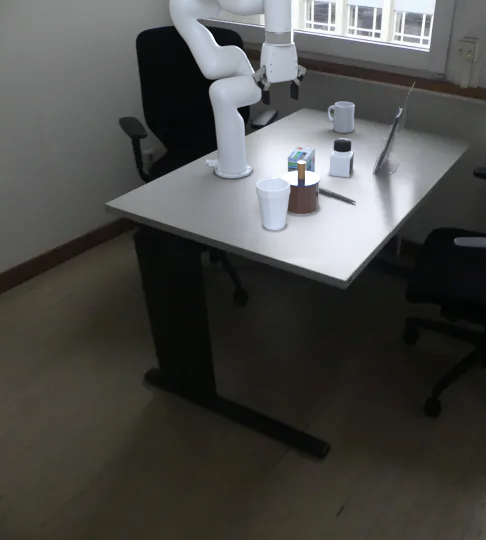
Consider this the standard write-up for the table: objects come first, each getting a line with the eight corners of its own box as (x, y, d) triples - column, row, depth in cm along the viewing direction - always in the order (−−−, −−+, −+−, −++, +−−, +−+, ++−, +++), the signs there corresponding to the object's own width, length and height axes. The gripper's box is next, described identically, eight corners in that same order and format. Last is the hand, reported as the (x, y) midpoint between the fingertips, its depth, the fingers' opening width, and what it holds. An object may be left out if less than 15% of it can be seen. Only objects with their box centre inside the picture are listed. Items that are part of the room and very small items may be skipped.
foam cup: (291, 218, 158) (290, 177, 151) (290, 233, 150) (289, 191, 143) (259, 218, 157) (257, 177, 150) (256, 233, 150) (254, 191, 143)
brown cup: (283, 215, 159) (283, 186, 154) (284, 200, 168) (284, 172, 163) (318, 215, 160) (318, 186, 155) (317, 200, 168) (318, 172, 163)
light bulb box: (307, 190, 175) (307, 159, 169) (287, 188, 176) (287, 157, 170) (315, 178, 184) (315, 148, 178) (296, 175, 185) (296, 145, 179)
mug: (356, 128, 229) (357, 103, 223) (348, 134, 223) (349, 108, 217) (331, 124, 234) (332, 99, 228) (322, 129, 227) (323, 103, 221)
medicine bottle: (349, 177, 184) (351, 144, 178) (329, 175, 186) (330, 142, 179) (352, 170, 190) (354, 137, 184) (333, 168, 191) (334, 135, 185)
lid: (281, 189, 154) (281, 169, 151) (283, 173, 163) (282, 154, 160) (320, 189, 155) (320, 169, 151) (319, 174, 164) (319, 155, 161)
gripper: (297, 33, 151) (297, 94, 161) (244, 38, 143) (247, 102, 152) (312, 37, 146) (312, 100, 156) (258, 43, 138) (261, 109, 147)
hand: (280, 101), depth 154 cm, fingers open, 9 cm apart
